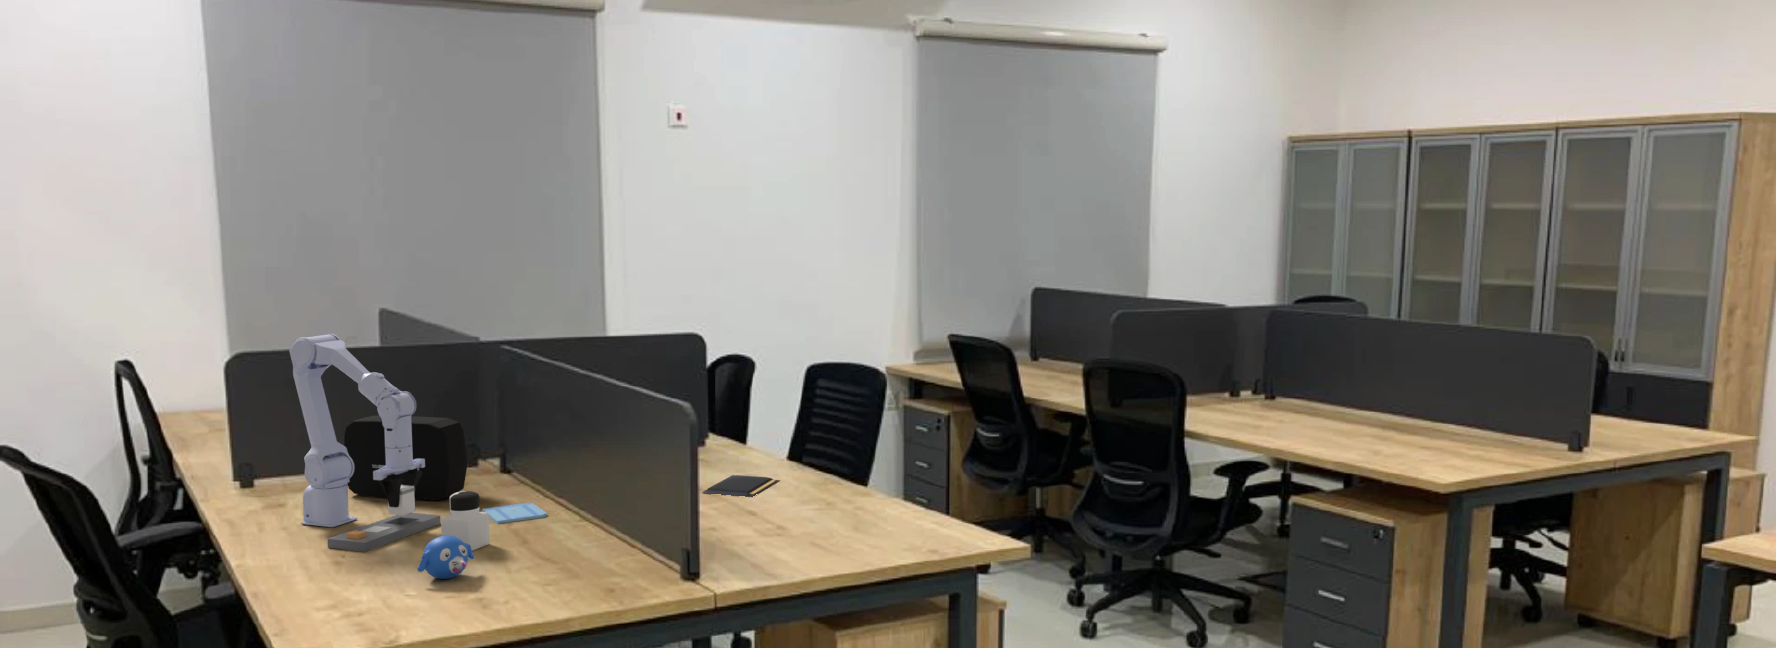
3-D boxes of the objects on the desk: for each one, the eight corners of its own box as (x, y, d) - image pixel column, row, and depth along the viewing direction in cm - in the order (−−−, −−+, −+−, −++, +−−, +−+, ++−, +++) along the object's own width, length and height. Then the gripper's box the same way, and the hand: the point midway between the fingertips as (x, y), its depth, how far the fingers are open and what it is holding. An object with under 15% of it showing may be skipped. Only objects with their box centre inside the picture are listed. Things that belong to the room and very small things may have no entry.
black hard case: (344, 496, 300) (341, 419, 298) (376, 485, 311) (373, 411, 310) (448, 503, 292) (445, 424, 290) (476, 492, 304) (474, 416, 302)
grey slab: (365, 551, 250) (364, 538, 250) (327, 547, 253) (327, 534, 253) (440, 523, 273) (440, 511, 272) (405, 520, 276) (405, 507, 276)
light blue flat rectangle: (548, 519, 279) (548, 513, 279) (497, 526, 273) (497, 520, 273) (531, 507, 291) (531, 502, 290) (482, 513, 284) (482, 508, 284)
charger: (388, 514, 266) (387, 488, 265) (400, 510, 270) (399, 484, 269) (402, 515, 265) (401, 489, 264) (415, 511, 269) (414, 485, 268)
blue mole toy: (437, 593, 223) (436, 550, 222) (407, 580, 231) (405, 539, 230) (494, 578, 232) (493, 537, 231) (463, 566, 240) (461, 526, 239)
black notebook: (731, 472, 322) (782, 476, 317) (731, 479, 322) (782, 483, 317) (698, 488, 303) (752, 493, 298) (698, 495, 303) (752, 500, 298)
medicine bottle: (490, 544, 256) (488, 490, 255) (468, 553, 249) (466, 498, 248) (463, 541, 258) (461, 488, 257) (441, 549, 252) (439, 495, 251)
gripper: (390, 453, 258) (392, 513, 259) (434, 441, 271) (437, 498, 273) (364, 451, 260) (367, 511, 261) (409, 439, 274) (412, 496, 275)
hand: (401, 504), depth 267 cm, fingers closed on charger, 4 cm apart
